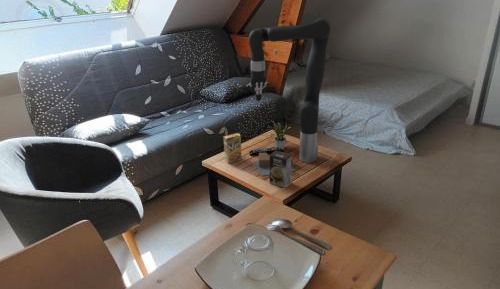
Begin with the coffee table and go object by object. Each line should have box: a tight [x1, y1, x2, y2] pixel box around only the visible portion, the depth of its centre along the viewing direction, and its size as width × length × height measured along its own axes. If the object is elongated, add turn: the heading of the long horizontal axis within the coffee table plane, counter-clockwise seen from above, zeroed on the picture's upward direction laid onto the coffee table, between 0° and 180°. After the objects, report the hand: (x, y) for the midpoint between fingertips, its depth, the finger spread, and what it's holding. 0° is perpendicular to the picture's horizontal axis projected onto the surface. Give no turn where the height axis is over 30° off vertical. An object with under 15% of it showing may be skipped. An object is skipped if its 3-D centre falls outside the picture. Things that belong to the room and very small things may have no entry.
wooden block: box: [258, 152, 294, 167], centre depth 196 cm, size 9×4×18 cm
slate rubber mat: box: [253, 160, 296, 177], centre depth 195 cm, size 19×16×1 cm
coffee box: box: [269, 150, 293, 189], centre depth 176 cm, size 9×6×16 cm
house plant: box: [269, 121, 291, 150], centre depth 212 cm, size 14×14×16 cm
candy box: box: [223, 132, 243, 164], centre depth 200 cm, size 9×4×15 cm, turn 118°
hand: (258, 100), depth 194 cm, fingers closed
